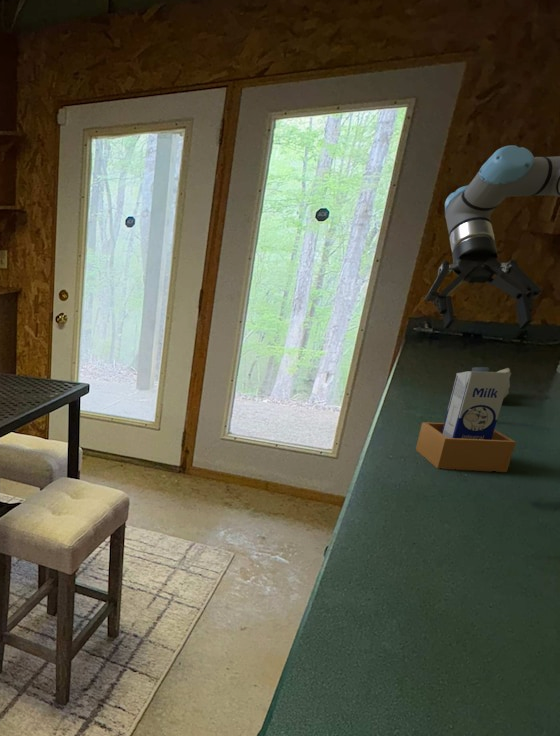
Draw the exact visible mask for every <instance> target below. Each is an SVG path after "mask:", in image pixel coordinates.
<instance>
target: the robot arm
mask: <svg viewBox="0 0 560 736" xmlns="http://www.w3.org/2000/svg"><path fill="white" fill-rule="evenodd" d="M535 196H556V197H559V198H560V155H558V156H557V155H556V156H534V155H533V153H532V152H531V151H530V150H529V149H527V148H526V147H523V146H522V147H519V146H517V145H516V144H515V145H506V146H502V147H500V148H498V149H497V150H495V152H493V154H492V155H491V156H489V158H487V160H486V161H485V162H484V163H483V164H482V165H481V167H480V169H479V170H478V172H477V173H476V174H475V176H474V177H473V179H472V180H471V182H470V183H469V184H467V185H464V186H460V187H458V188H457V189H456V190H455V191H454V192H451V193H450V194H449V195H448V196H447V198H446V199H445V202H444V218H445V221H446V222H445V223H446V227H447V232H448V237H449V244H450V249H451V256H452V257H451V258H452V261H453V263H450V261H448V260H444V261H443V262H442V263H441V264H440V266H439V267H438V269H437V277H436V279H435V280H434V282H433V284H432V285H431V287H430V289H429V291H428V292H427V294H426V296H425V298H424V300H425V302H431V301H432V304H433V306H435V307H436V311H437V313H438V315H442V322H443V328H444V329H450V327H451V326H452V325H453V323H455V315H454V309H453V302H452V296H451V294H452V293H453V292H454V291H455V290H456V289H457V288H458V287H460V286H461V285H462V284H463V283H464V282H466V283H468V284H475V283H479V284H485V283H487V284H488V285H489V286H495V287H497V288H498V289H499V290H501V291H502V292H504V293H505V294H507V295H508V296H510V297H512V298H513V299H514V300H515V301H516V302H515V303H514V307H515V310H516V311H515V312H516V316H517V321H518V325H519V329H520V330H522V329H523V330H525V329H526V328H527V327H528V326H529V324H530V323H531V322H532V321H533V319H532V318H533V317H532V314H531V312H532V311H533V309H535V308H534V304H533V301H535V300H536V299H537V298H538V297H539V296H540V295H541V293H542V292H543V290H542V289H541V287H539V285H538V284H537V283H536V282H535V281H534V280H532V279H531V277H529V275H528V274H527V273H525V272H524V271H523V269H521V268H520V266H519V264H518V261H517V260H516V259H514V258H512V259H510V260H509V261H508V262H501V261H499V259H498V248H497V244H496V241H495V238H496V237H495V234H494V229H493V224H492V219H491V215H492V213H493V211H494V210H495V209H496V208H498V207H499V205H500V204H501V203H502V202H503V201H504V200H505V199H506V198H509V197H512V198H513V197H535ZM452 271H453V273H454V274H455V275H457V277H456V278H454V279H453V280H452V281H451V282H450V283H449V284H448V285H447V286H446V287H445V288H444V289H443V290H441V291H440V292H438V290H439V288H440V287H441V285H442V283H443V282H444V280H445V278H446V276H447V275H449V274H450V273H451V272H452ZM494 276H495V277H494Z"/></svg>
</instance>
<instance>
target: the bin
mask: <svg viewBox="0 0 560 736" xmlns="http://www.w3.org/2000/svg"><path fill="white" fill-rule="evenodd" d="M443 425H444V422H429V421H428V422H425V421H422V422H421V426H420V431H419V434H418V438H417V444H416V447H415V451H416V452H417V453H418V454H419V455H420V456H422V457H423V458H424V457H425V458H424V459H426V460H427V461H428V462H429V463H430V464H431V465H432V466H434V467H435V468H436V469H438V468H439V470H441V469H442V470H455V469H456V470H455V471H473V470H474V472H475V471H476V472H492V471H496V472H495V473H507V472H508V470H509V467H510V463H511V461H512V460H511V459H512V456H513V453H514V450H515V447H516V443H517V441H515V440H514V439H512V438H510V437H508V436H507V435H505V434H504V433H502V432H500V431H498V430H497V429H496V428H495V429H494V432H493V436H492V439H491V440H485V439H461V438H447V437H446V436H445V435H443V434H442V429H443ZM440 468H441V469H440Z"/></svg>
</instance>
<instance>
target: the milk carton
mask: <svg viewBox="0 0 560 736" xmlns="http://www.w3.org/2000/svg"><path fill="white" fill-rule="evenodd" d="M511 375H512V372H510V373H508V372H498V371H490V367H486V366H485V367H484V366H483V367H471V370H470V371H462V372H456V375H455V379H454V383H453V388H452V392H451V394H450V395H451V396H450V398H449V399H450V400H449V403H448V407H447V410H446V414H445V418H444V422H443V423H444V425H443V429H442V434H443V435H445V436H446V437H447V438H461V439H485V440H491V439H492V436H493V432H494V429H495V430H496V425H497V421H498V418H499V415H500V412H501V408H502V405H503V401H504V399H505V398H504V395H505V392H506V388H507V385H508V381H510V378H511ZM503 398H504V399H503Z"/></svg>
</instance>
